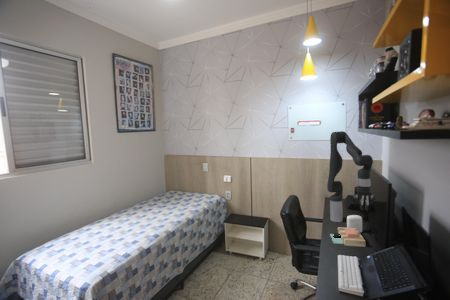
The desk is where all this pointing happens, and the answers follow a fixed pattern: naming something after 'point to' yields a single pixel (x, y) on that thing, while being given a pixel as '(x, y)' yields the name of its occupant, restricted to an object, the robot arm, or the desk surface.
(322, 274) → the desk surface
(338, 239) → the mat
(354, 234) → the card
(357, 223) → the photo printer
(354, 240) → the deck
